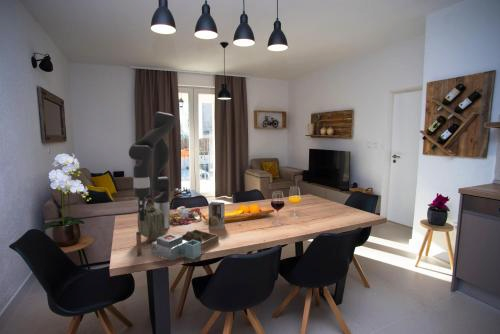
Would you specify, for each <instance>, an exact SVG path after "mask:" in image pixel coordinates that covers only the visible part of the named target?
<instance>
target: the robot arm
mask: <svg viewBox="0 0 500 334" xmlns="http://www.w3.org/2000/svg"><path fill="white" fill-rule="evenodd" d="M175 124H176V117H175V116H174V115H173V114H171V113H167V112H161V111H156V112H155V113H154V116H153V129H152V130H151V129H150V130H149V131H147V132H146V133H145V135H144V136H143V137H142V138H141V139H139V140H138V141H136V142H135V143H133V144H132V145H131V146H130V148H129V149H128V157H129V158H130V159H132V160H135V161H141V162H140V164H136V165H135V164H134V166H133V196H134V197H135V198H138V200H137V208H138V209H137V210H138V211H137V214H138V213H139V214H140V221H144V220H145V216H146V208H147V207H148V203H147V199H148V198H147V197H149V196H150V195H151V191H152V192H155V193H159V192H161V194H159V195H157V196H155V197H154V198H153V201H154V205H153V206H154V207H155V209H158V210H160V211H162V212H163V214H164V220H165V230H166V229H169V228H170V227H171V225H170V224H171V223H170V213H171V212H170V213H169V209H170V179H169V177H167V176H159V175H160V173H161V171H162V170H163V169H164V168H165V166H166V165H167V164H168V163H169V158H170V149H169V145H168V143H167V142H166V140H165V138H164V137H165V136H166V135H167V134H168V133H170V132H171V131H172V130H173V128H174V127H175ZM151 161H152V172H151V180H150V165H151Z"/></svg>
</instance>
